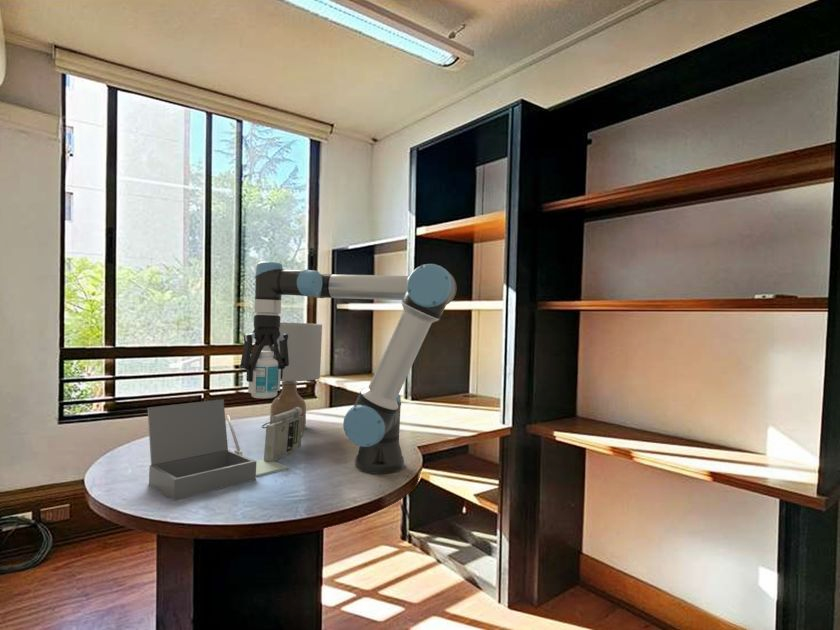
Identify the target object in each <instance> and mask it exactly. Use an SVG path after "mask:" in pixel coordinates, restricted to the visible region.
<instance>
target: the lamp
mask: <svg viewBox="0 0 840 630" xmlns="http://www.w3.org/2000/svg"><path fill="white" fill-rule="evenodd" d="M279 331H280V333H281V334H288V340H287V346H288V359H289V365H288V366H286V367H285V369H283V375H282V376H283V377H282V379H280V382H281V385H282V386H281V391H280V393H279V395H277V396H276V397H275V398H274V399H273V400H272V402H271V404H270V409H269V410H270V411H269V413H270V414H269V422H271V418H272V416H275V415H278V414H281V413H284V412H287V411H290V410H292V409H293V408H296V407H300V408H301V409H302V414H301V415H300V416H303V422H302V429H303V430H304V429H305V428H306V425H307V404H306V401H305V400H304V399H303V397H302V396H300V395H299V393H298V390H297V389H298V388H297V385H298V382H308V381H314V380H315V381H316V380H319V379H321V366H322V365H321V363H322V362H321V361H322V340H323V339H322V338H323V324H322V323H320V324H319V323H309V322H308V323H306V322H305V323H304V322H284V321H283V322H281V321H280V328H279ZM277 343H278V349H279V352H280V346H279V339H277ZM261 351H271V349H270V348H269V346H264V348H263V349H262V350H261ZM270 424H272V423H269V425H270Z"/></svg>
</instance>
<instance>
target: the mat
mask: <svg viewBox="0 0 840 630" xmlns="http://www.w3.org/2000/svg"><path fill="white" fill-rule="evenodd" d="M255 461H256V478H257V477H261V476H265V475H269V474H272V473H277V472H281V471H284V470H288V469H289V467H288V466H287V465H285V464H282V463H280V462H277V461H276V460H275V461H273V462H268V461H264V458H263V459H259V460H255Z"/></svg>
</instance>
